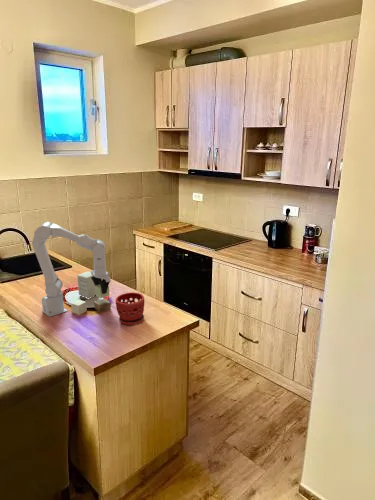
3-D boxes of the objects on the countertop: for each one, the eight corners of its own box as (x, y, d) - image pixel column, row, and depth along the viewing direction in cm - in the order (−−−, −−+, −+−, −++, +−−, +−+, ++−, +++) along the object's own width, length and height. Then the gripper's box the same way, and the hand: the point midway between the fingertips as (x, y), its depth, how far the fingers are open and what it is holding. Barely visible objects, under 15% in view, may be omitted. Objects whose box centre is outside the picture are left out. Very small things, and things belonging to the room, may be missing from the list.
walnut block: (99, 313, 178) (99, 305, 177) (94, 308, 182) (93, 301, 181) (110, 309, 182) (110, 302, 180) (105, 305, 186) (104, 298, 185)
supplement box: (88, 292, 202) (87, 270, 198) (98, 295, 198) (97, 273, 195) (78, 296, 196) (76, 274, 192) (88, 299, 192) (86, 277, 188)
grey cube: (79, 315, 175) (78, 305, 174) (71, 312, 178) (71, 303, 176) (86, 311, 179) (86, 301, 178) (79, 308, 182) (78, 299, 180)
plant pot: (131, 312, 179) (130, 289, 176) (150, 320, 171) (150, 296, 168) (110, 321, 169) (109, 297, 166) (129, 330, 161) (128, 306, 158)
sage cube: (109, 295, 180) (109, 286, 179) (100, 298, 177) (100, 288, 175) (104, 292, 183) (103, 283, 182) (95, 295, 180) (94, 285, 179)
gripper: (115, 267, 173) (116, 293, 177) (99, 260, 183) (100, 285, 187) (102, 270, 168) (103, 297, 172) (86, 263, 178) (88, 288, 182)
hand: (101, 291), depth 179 cm, fingers closed on sage cube, 5 cm apart
